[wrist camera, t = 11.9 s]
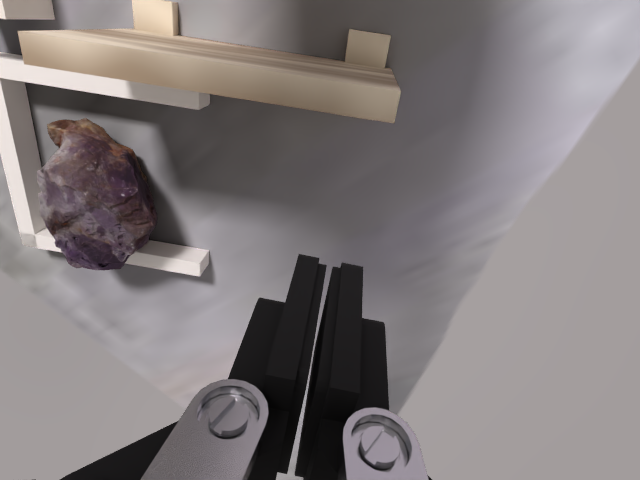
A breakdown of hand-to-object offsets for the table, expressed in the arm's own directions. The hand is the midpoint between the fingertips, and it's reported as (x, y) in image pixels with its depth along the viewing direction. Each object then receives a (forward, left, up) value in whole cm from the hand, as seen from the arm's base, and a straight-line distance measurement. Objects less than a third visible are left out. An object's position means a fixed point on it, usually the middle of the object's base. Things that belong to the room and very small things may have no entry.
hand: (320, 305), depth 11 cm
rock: (+9, -20, -26) cm, 34 cm away
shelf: (-3, -8, -25) cm, 27 cm away
